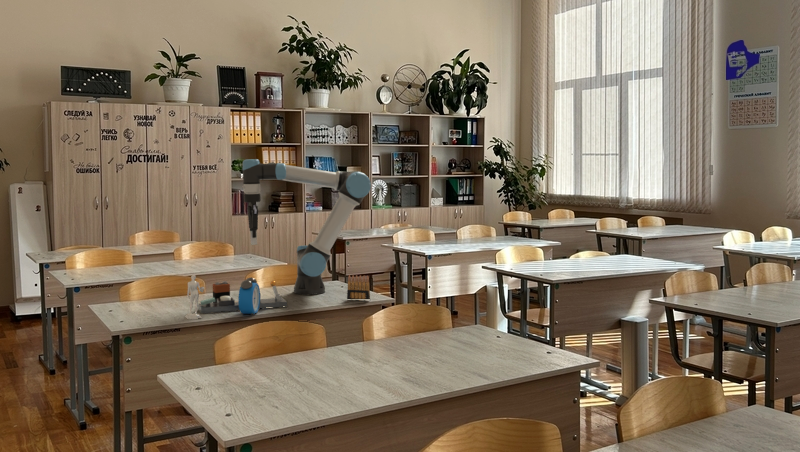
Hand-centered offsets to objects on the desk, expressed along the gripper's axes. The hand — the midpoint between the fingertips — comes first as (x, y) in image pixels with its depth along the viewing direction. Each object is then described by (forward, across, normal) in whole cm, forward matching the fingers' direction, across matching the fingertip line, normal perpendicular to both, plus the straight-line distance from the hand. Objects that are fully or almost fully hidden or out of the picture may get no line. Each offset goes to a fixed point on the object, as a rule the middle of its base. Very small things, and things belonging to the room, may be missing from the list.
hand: (253, 244), depth 339 cm
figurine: (+26, +27, -31) cm, 48 cm away
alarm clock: (+26, +28, -9) cm, 39 cm away
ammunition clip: (+27, +20, +43) cm, 55 cm away
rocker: (+21, +16, -24) cm, 36 cm away
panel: (+26, +16, -9) cm, 32 cm away
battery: (+26, +3, -16) cm, 31 cm away
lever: (+24, +17, +6) cm, 30 cm away
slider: (+23, +15, -2) cm, 28 cm away
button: (+23, +16, -17) cm, 33 cm away
